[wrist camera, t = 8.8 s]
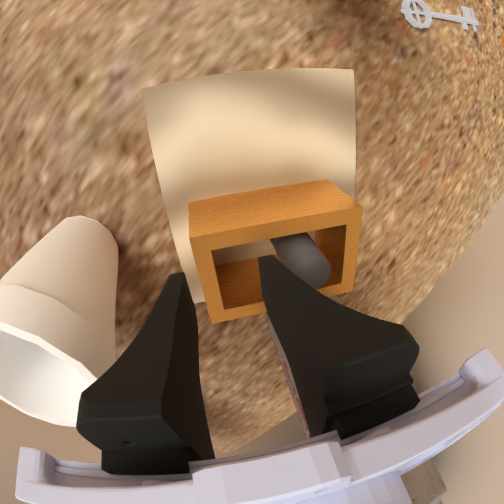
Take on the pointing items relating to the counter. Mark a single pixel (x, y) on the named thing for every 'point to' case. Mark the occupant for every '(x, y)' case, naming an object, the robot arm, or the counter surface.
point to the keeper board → (252, 151)
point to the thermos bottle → (415, 481)
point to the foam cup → (58, 320)
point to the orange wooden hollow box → (267, 227)
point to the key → (436, 15)
